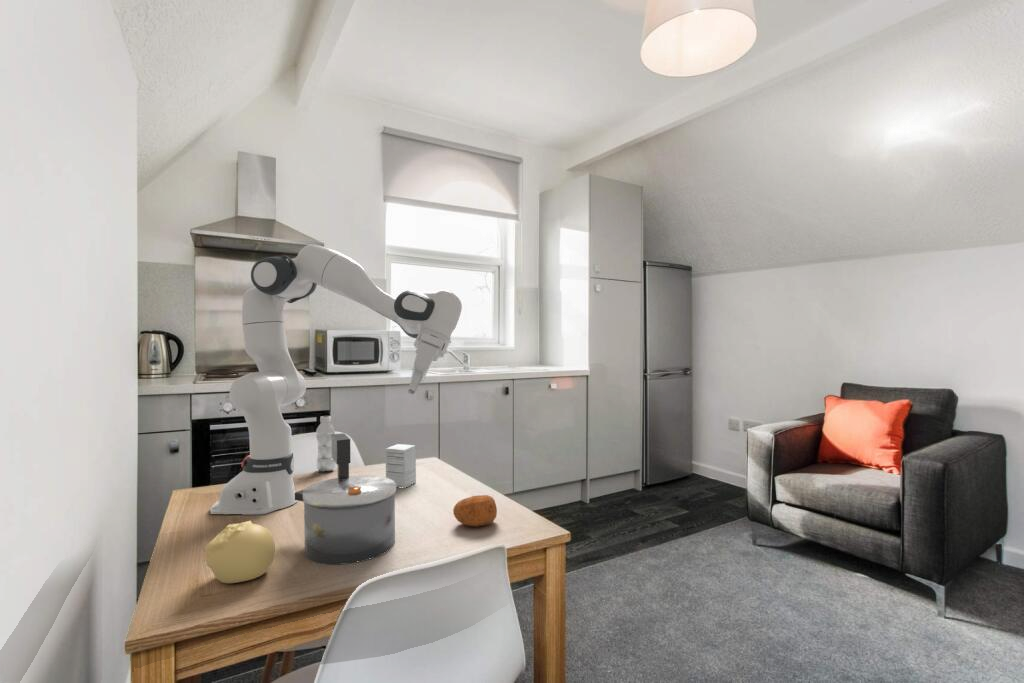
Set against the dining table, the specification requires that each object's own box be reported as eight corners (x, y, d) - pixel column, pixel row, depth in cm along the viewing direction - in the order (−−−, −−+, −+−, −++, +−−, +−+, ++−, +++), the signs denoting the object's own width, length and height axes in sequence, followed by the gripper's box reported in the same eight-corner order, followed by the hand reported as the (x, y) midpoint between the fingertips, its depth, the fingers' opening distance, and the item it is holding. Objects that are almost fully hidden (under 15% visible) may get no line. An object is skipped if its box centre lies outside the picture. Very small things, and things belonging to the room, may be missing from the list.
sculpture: (228, 564, 106) (227, 513, 106) (284, 563, 107) (284, 513, 107) (194, 591, 95) (194, 534, 95) (258, 590, 95) (257, 534, 95)
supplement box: (397, 480, 169) (397, 443, 169) (416, 482, 166) (416, 445, 166) (385, 486, 162) (384, 448, 162) (404, 489, 159) (404, 449, 159)
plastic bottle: (329, 473, 178) (329, 418, 178) (312, 472, 179) (312, 417, 179) (339, 469, 184) (338, 415, 184) (322, 468, 186) (322, 414, 186)
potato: (497, 531, 124) (496, 501, 123) (451, 532, 123) (451, 502, 123) (496, 518, 133) (496, 490, 133) (454, 519, 132) (454, 491, 132)
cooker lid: (406, 498, 111) (406, 450, 111) (307, 513, 102) (307, 461, 102) (377, 469, 136) (377, 430, 136) (295, 479, 127) (295, 437, 127)
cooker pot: (412, 537, 120) (412, 487, 120) (351, 571, 102) (350, 513, 102) (331, 519, 132) (331, 474, 132) (264, 547, 114) (263, 495, 114)
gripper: (418, 349, 147) (399, 392, 143) (422, 331, 128) (400, 380, 123) (438, 357, 148) (420, 400, 143) (445, 340, 128) (424, 390, 124)
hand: (411, 391), depth 133 cm, fingers open, 8 cm apart
